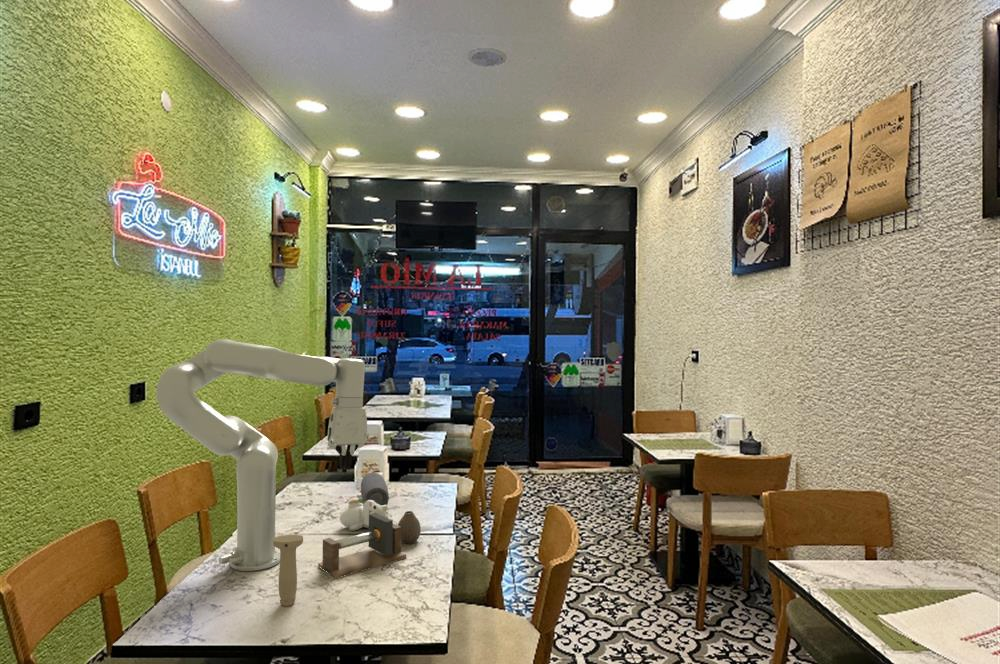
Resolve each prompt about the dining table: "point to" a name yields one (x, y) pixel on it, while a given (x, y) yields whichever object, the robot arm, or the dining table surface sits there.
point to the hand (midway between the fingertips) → (344, 468)
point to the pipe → (359, 539)
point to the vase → (409, 528)
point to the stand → (358, 556)
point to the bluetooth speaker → (374, 489)
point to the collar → (386, 533)
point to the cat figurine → (361, 513)
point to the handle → (287, 567)
